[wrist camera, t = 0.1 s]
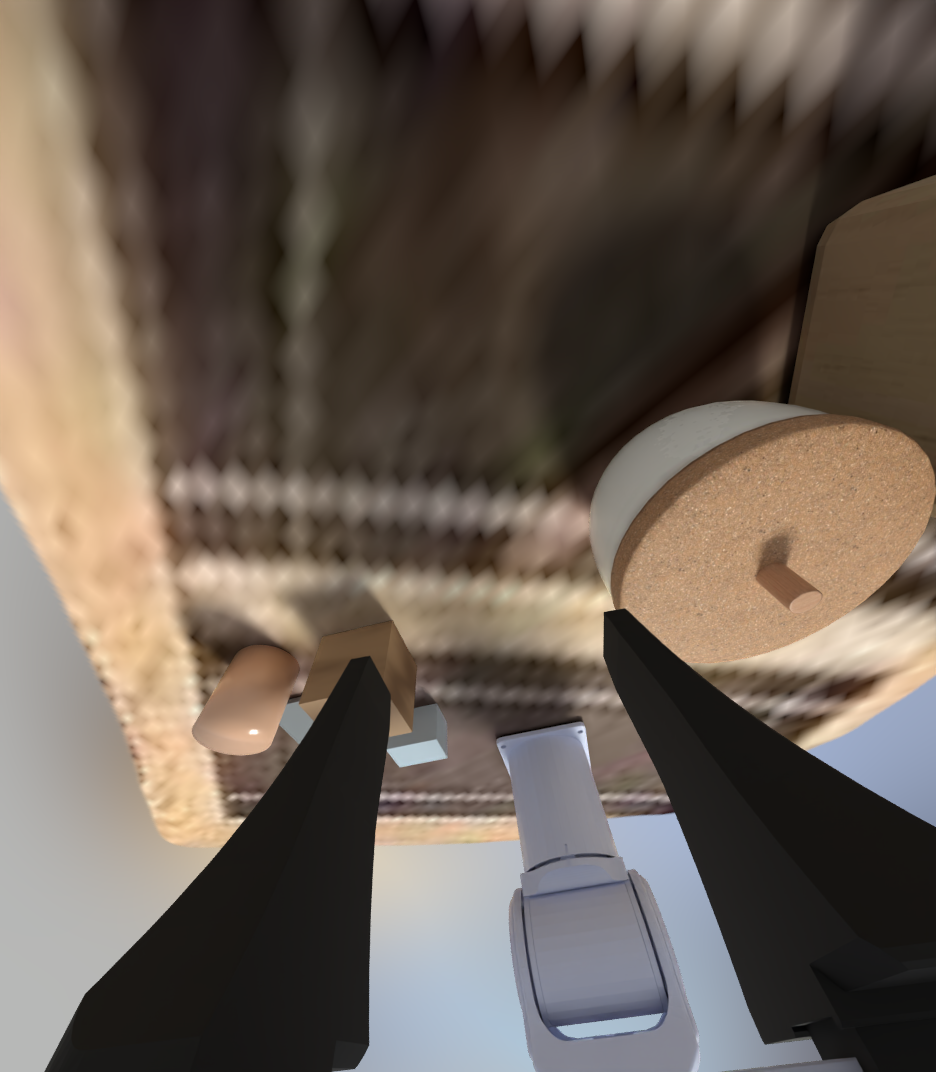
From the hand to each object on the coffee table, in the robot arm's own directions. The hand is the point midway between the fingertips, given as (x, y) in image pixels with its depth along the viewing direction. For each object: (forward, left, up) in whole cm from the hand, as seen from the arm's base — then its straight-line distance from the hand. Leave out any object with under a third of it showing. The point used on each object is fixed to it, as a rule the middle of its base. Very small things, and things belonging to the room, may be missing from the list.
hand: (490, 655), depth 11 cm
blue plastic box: (-18, +9, -10) cm, 23 cm away
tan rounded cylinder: (-8, +17, -10) cm, 22 cm away
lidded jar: (-2, -10, -10) cm, 15 cm away
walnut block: (-9, +10, -10) cm, 17 cm away
